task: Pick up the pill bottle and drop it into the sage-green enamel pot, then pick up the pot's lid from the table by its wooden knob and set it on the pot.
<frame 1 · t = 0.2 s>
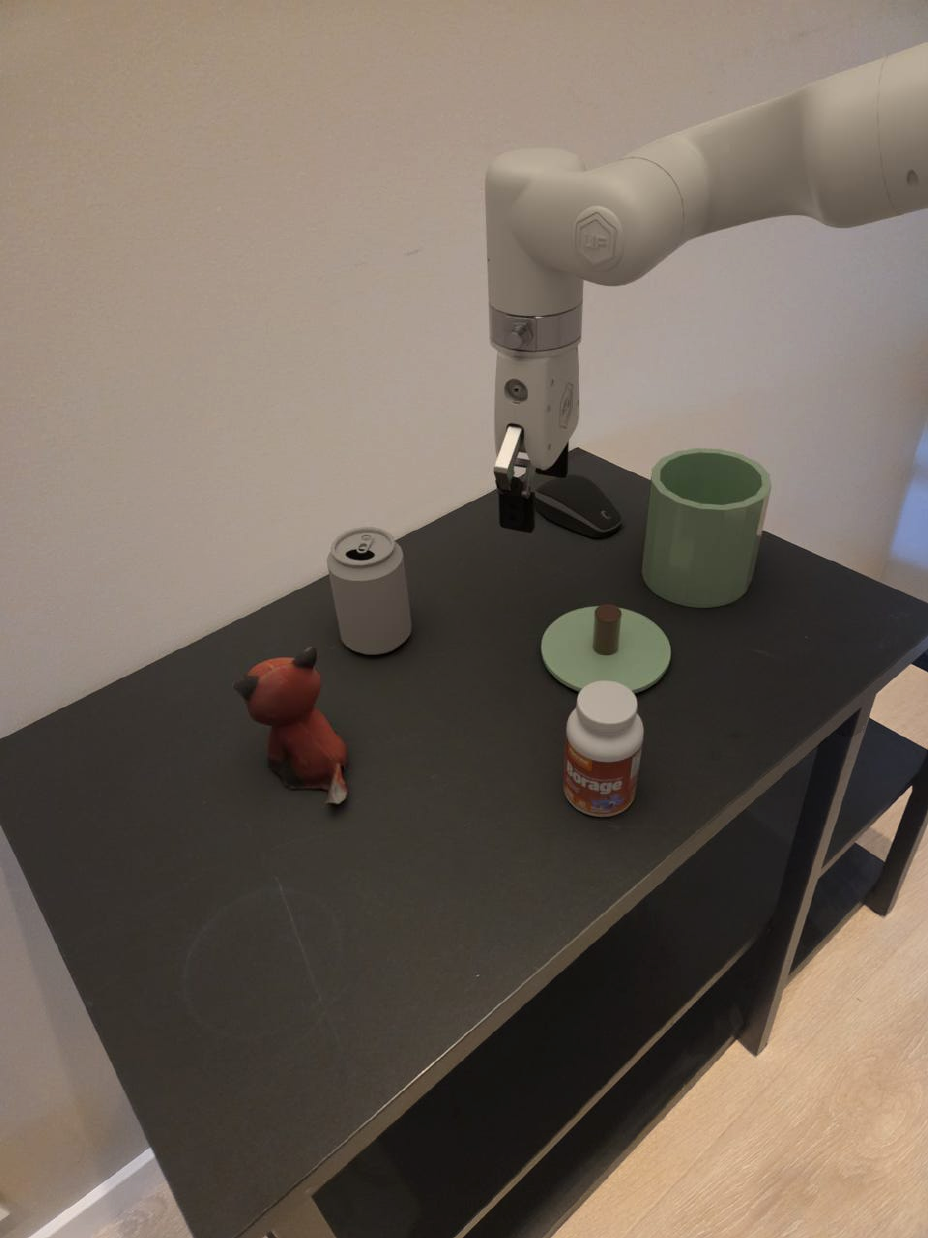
hand: (534, 500, 82), 15 cm above the table, tool pointing down, fingers open, 9 cm apart
can: (377, 637, 91), on the table
lid: (605, 651, 87), point 1 cm above the table
pot: (695, 574, 97), on the table
pill bottle: (599, 792, 75), on the table
computer mouse: (576, 515, 107), on the table
stuffed fox: (313, 775, 78), on the table
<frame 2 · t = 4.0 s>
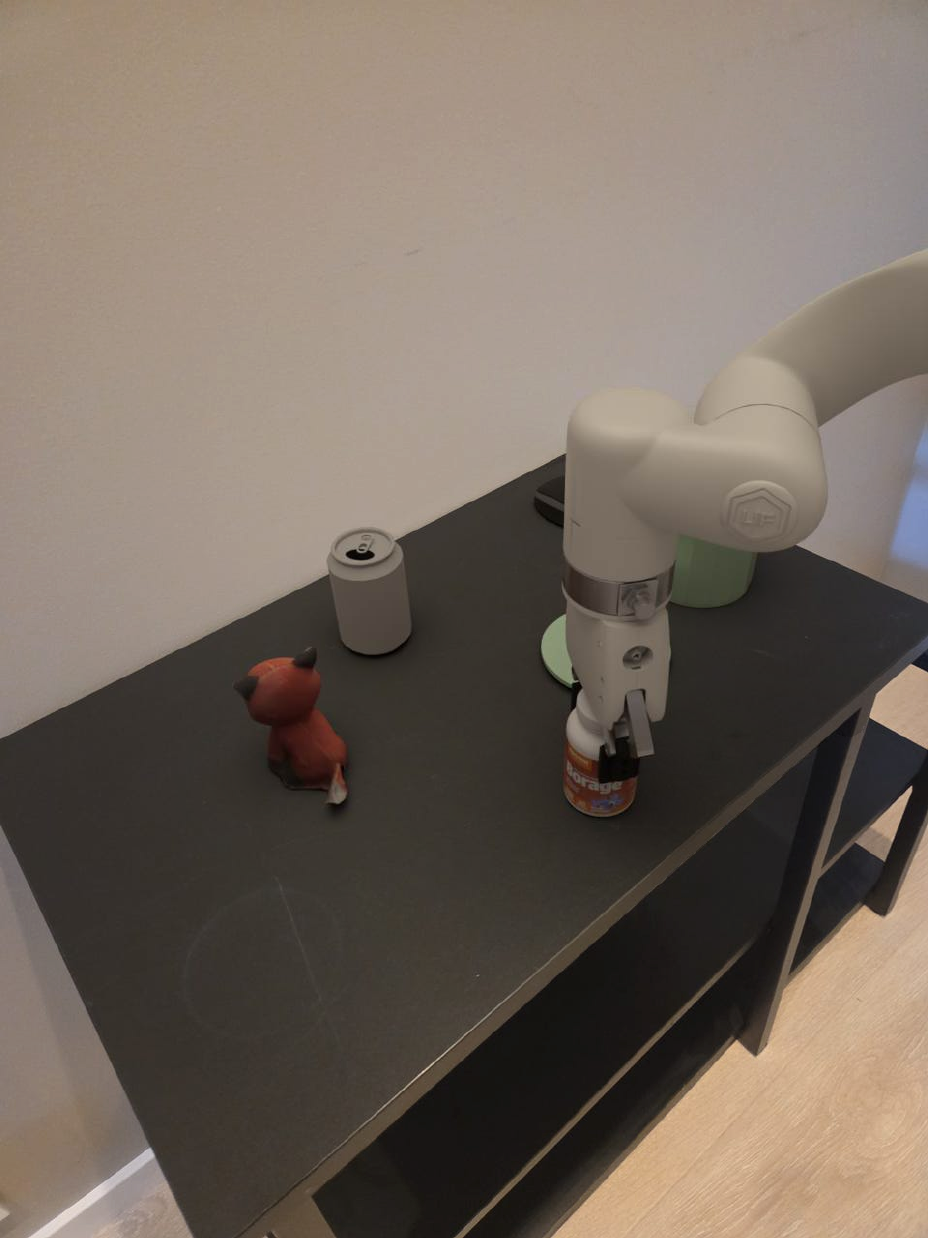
hand: (603, 744, 71), 6 cm above the table, tool pointing down, fingers closed on pill bottle, 6 cm apart
pill bottle: (599, 792, 75), on the table, touching gripper
everything else where it was.
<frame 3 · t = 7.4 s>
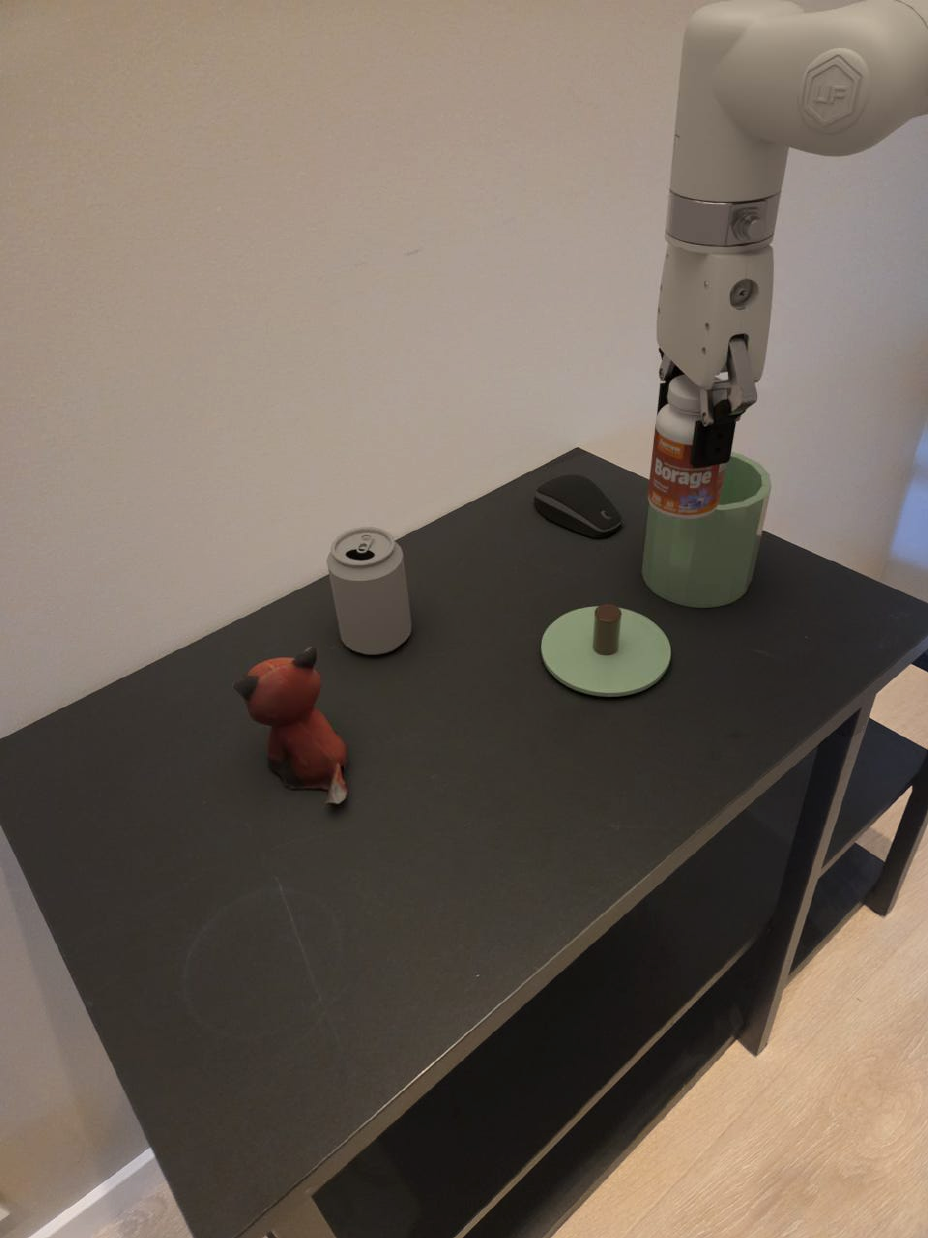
hand: (691, 441, 73), 23 cm above the table, tool pointing down, fingers closed on pill bottle, 6 cm apart
pill bottle: (682, 505, 77), point 17 cm above the table, touching gripper
everything else where it was.
when the fingers open (15 cm above the table, at t = 11.1 s): pill bottle drops 8 cm, resting on pot.
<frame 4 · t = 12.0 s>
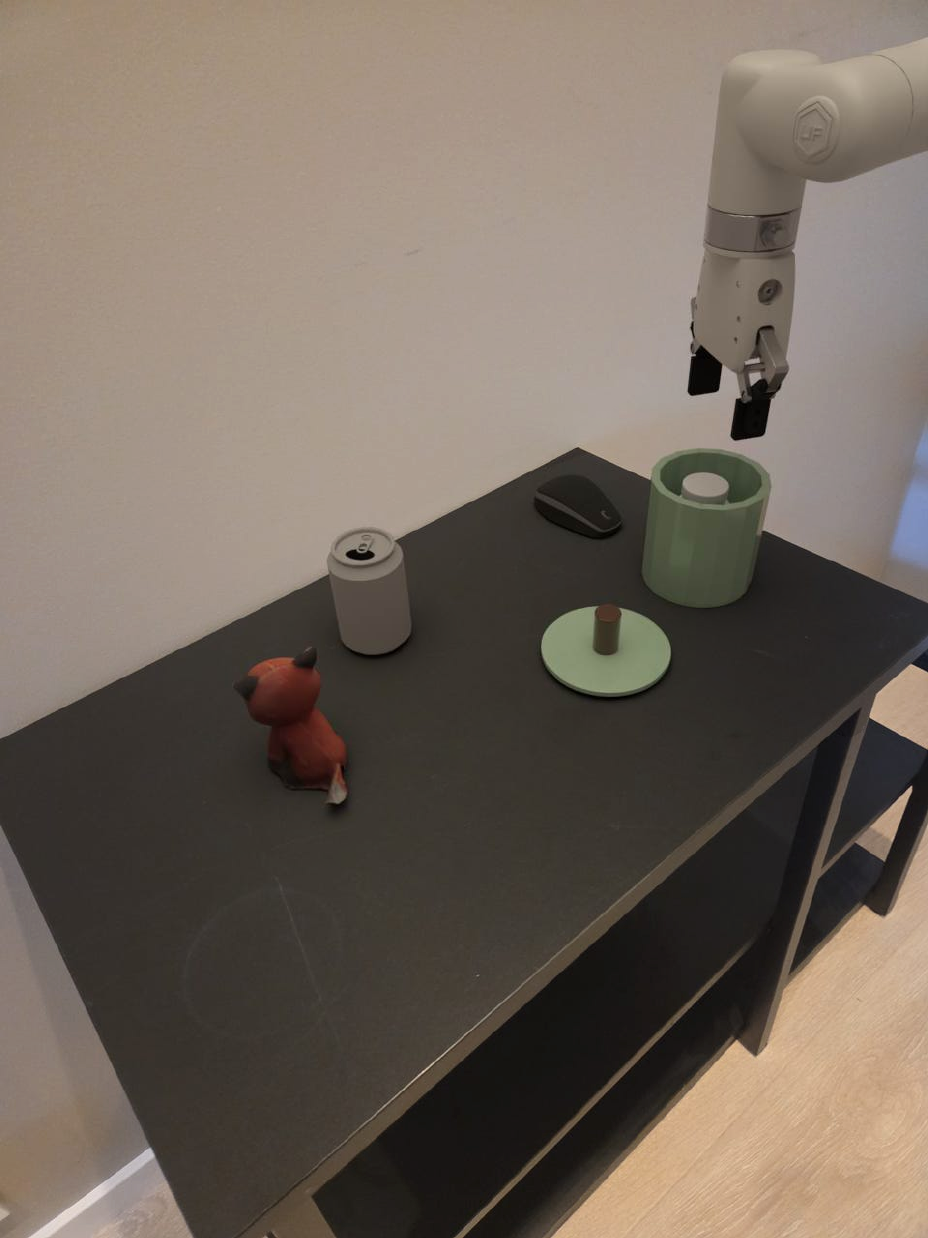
hand: (724, 414, 84), 20 cm above the table, tool pointing down, fingers open, 9 cm apart
pill bottle: (692, 570, 97), resting on pot
everything else where it was.
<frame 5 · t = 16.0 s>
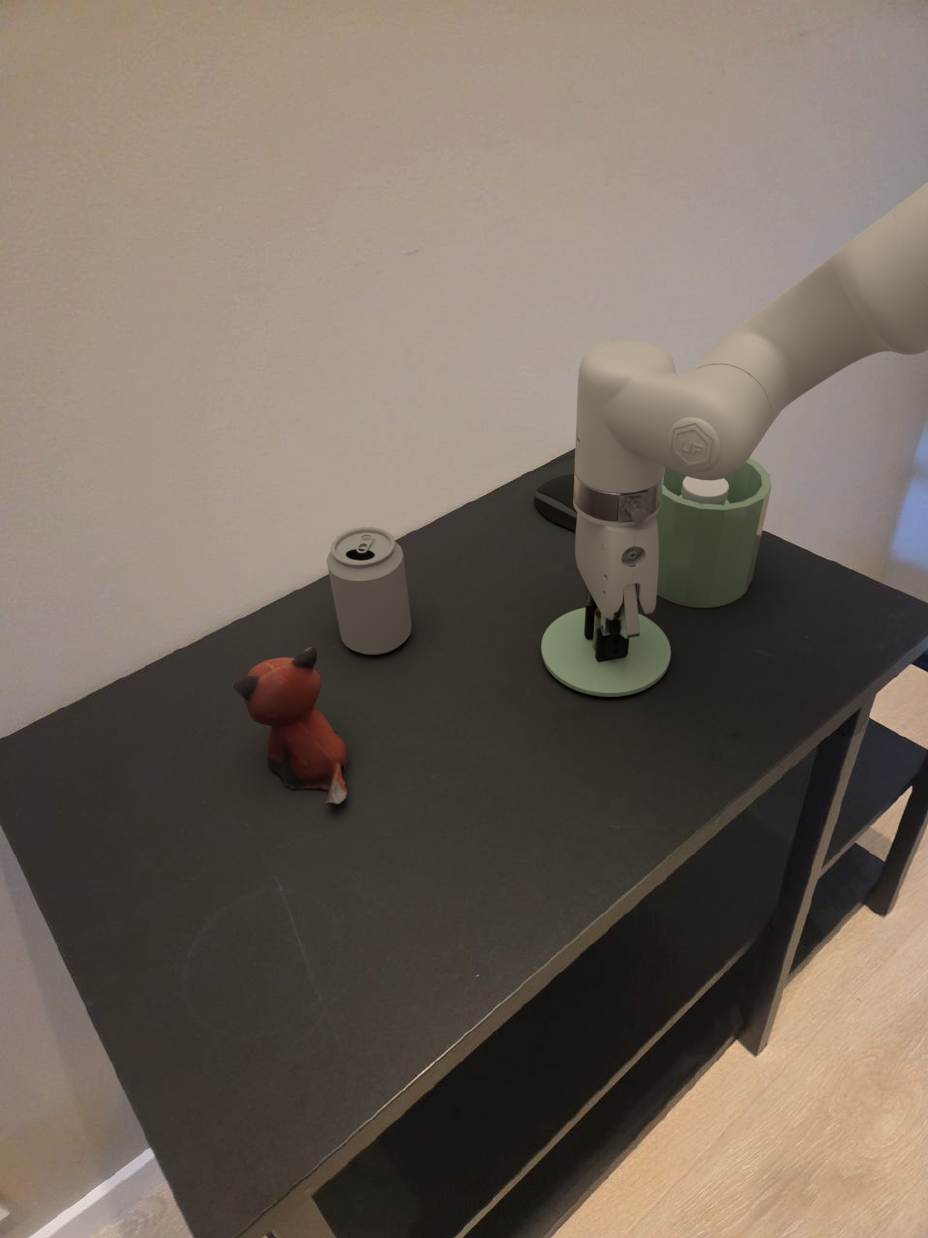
hand: (605, 645, 87), 1 cm above the table, tool pointing down, fingers closed on lid, 2 cm apart
lid: (605, 651, 87), point 1 cm above the table, touching gripper
everything else where it was.
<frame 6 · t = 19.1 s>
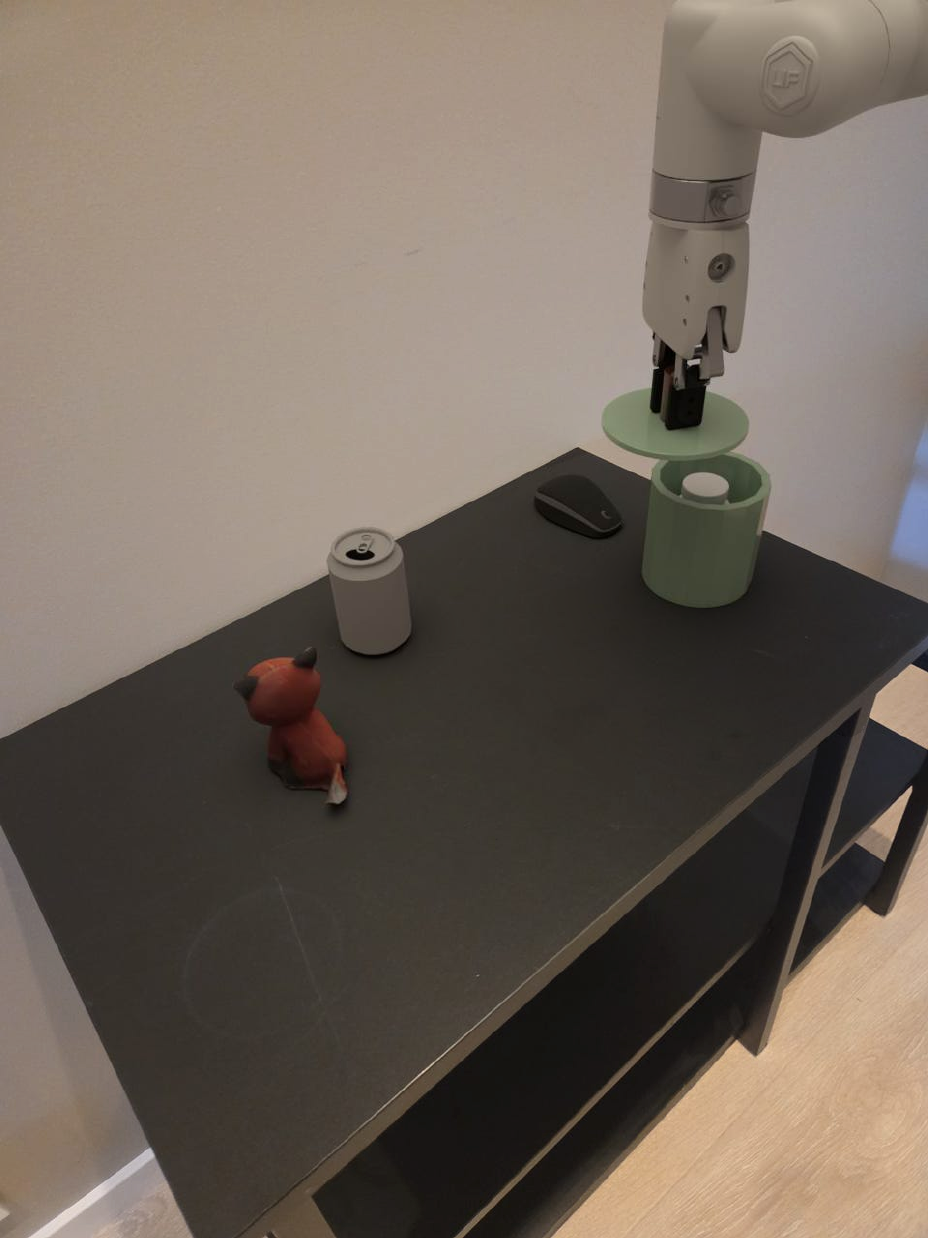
hand: (675, 416, 77), 23 cm above the table, tool pointing down, fingers closed on lid, 2 cm apart
lid: (673, 424, 77), point 22 cm above the table, touching gripper
everything else where it was.
when the fingers open (13 cm above the table, at t = 22.4 s): lid stays where it is, resting on pot.
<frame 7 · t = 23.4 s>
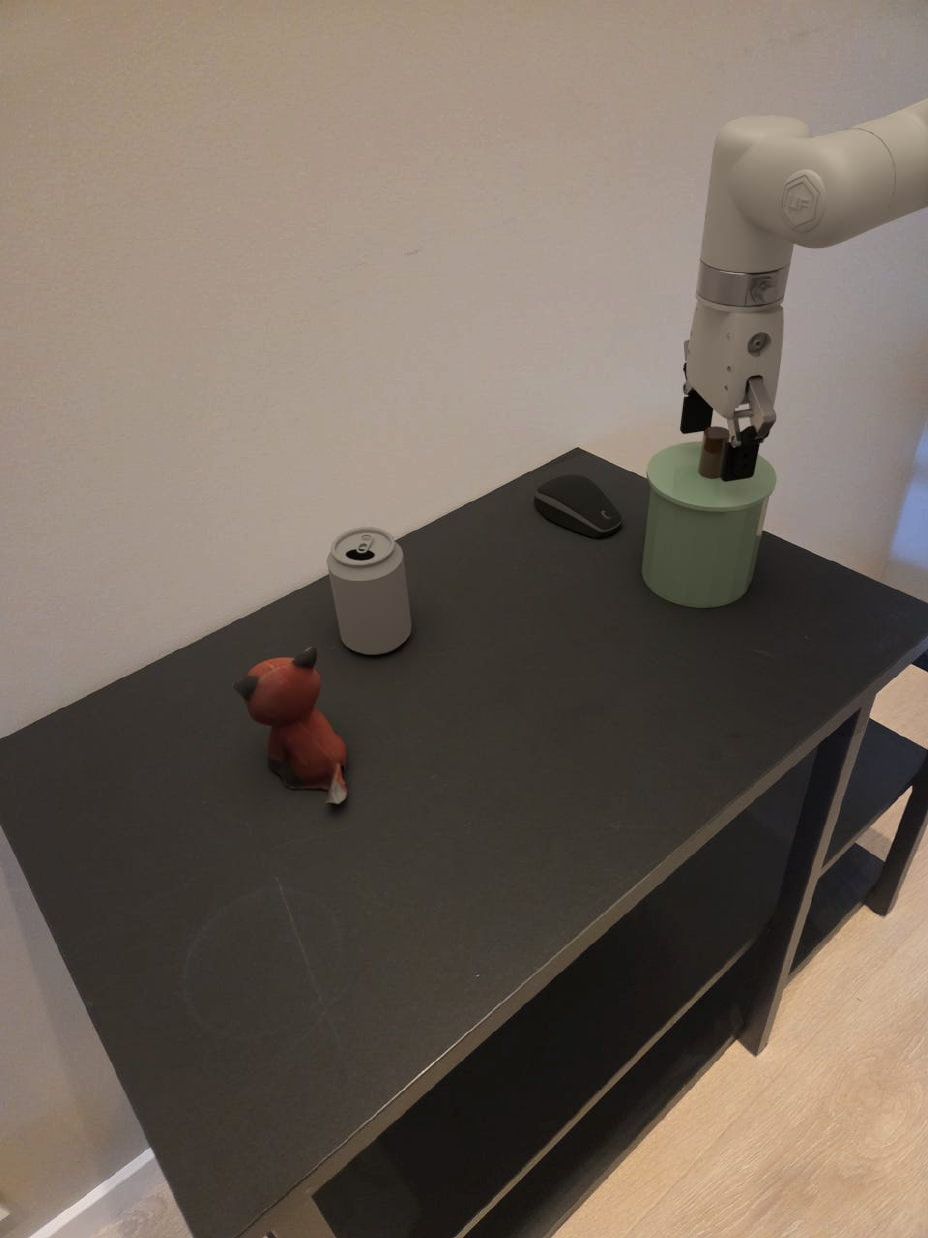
hand: (714, 453, 87), 15 cm above the table, tool pointing down, fingers open, 9 cm apart
lid: (710, 477, 89), point 12 cm above the table, touching pot
everything else where it was.
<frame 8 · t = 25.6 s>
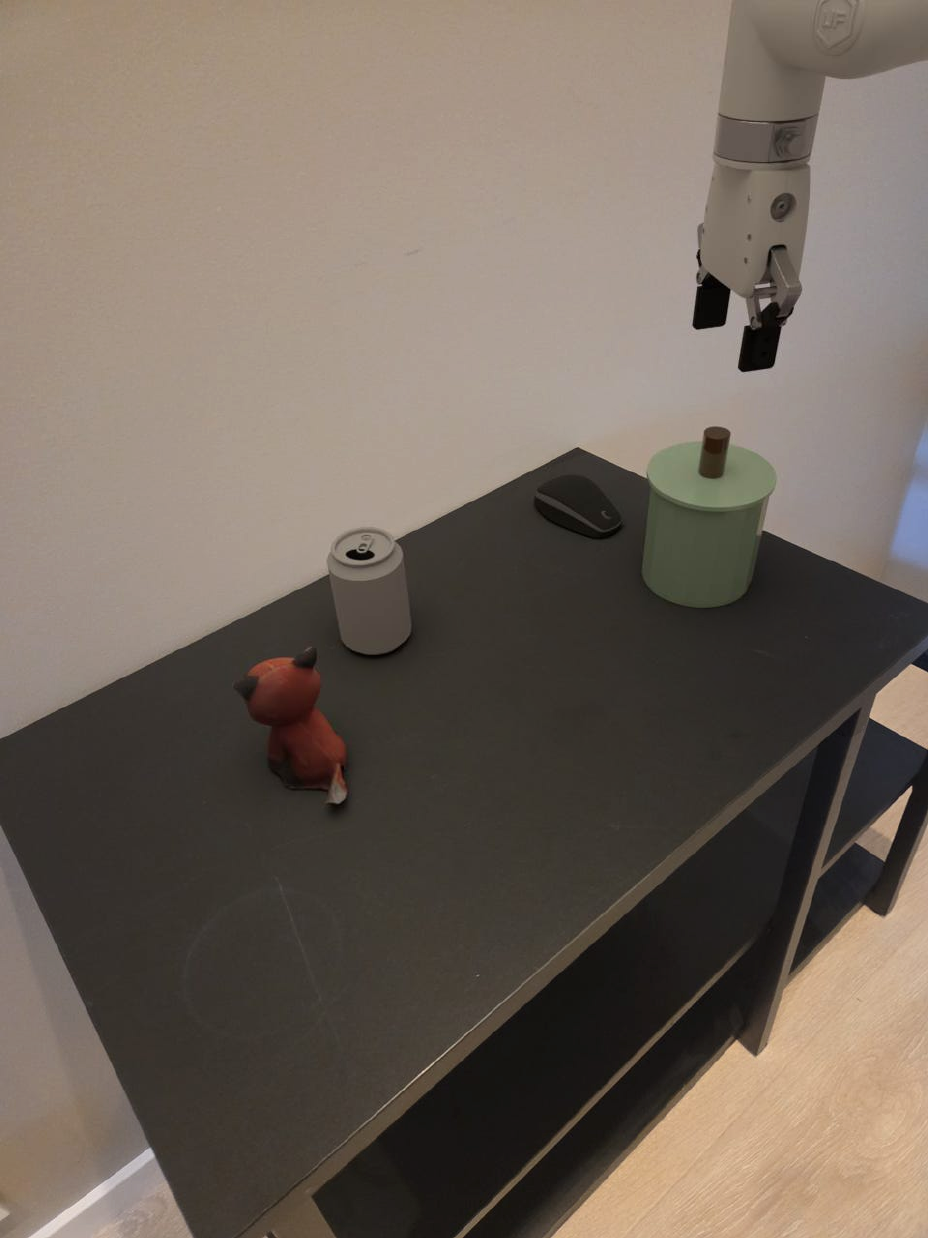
hand: (730, 346, 80), 26 cm above the table, tool pointing down, fingers open, 9 cm apart
nothing on the table moved.
at the end: pill bottle inside the target area in the pot (0.4 cm from its centre), point 0.3 cm above the pot's base; lid 0.0 cm off-centre on the pot, point 12.5 cm above the pot's base; lid tilted 0° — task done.
